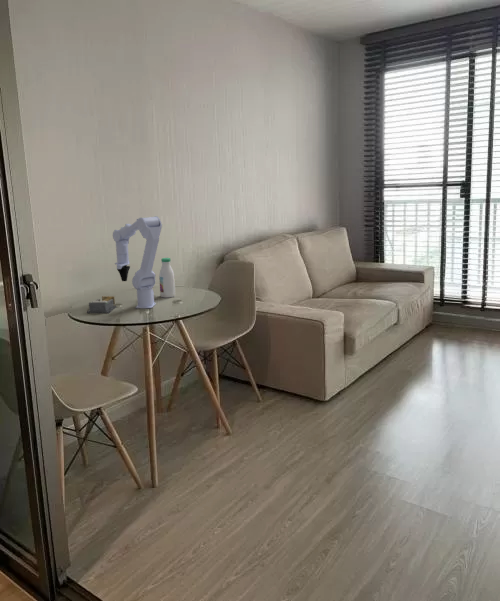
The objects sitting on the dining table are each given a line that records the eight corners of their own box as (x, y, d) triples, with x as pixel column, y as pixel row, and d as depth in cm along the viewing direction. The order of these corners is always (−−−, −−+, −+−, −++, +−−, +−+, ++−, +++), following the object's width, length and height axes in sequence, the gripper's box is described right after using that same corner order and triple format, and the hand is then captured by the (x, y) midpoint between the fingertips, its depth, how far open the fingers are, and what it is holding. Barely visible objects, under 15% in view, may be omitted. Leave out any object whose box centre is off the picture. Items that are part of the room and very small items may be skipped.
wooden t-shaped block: (103, 303, 266) (102, 296, 265) (115, 303, 265) (114, 296, 264) (96, 308, 256) (95, 300, 256) (108, 308, 256) (108, 300, 255)
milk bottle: (176, 294, 285) (175, 257, 281) (173, 298, 278) (171, 259, 273) (162, 294, 286) (160, 257, 281) (158, 297, 279) (156, 259, 274)
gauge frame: (95, 307, 262) (95, 297, 260) (116, 307, 261) (115, 297, 260) (87, 313, 250) (86, 302, 249) (108, 313, 250) (107, 302, 248)
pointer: (93, 308, 254) (92, 300, 253) (108, 308, 254) (107, 300, 253) (91, 309, 252) (90, 301, 251) (106, 309, 252) (106, 301, 251)
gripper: (119, 251, 275) (121, 278, 278) (109, 256, 261) (111, 283, 264) (132, 251, 274) (134, 278, 277) (124, 256, 260) (126, 283, 263)
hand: (124, 280), depth 270 cm, fingers closed
